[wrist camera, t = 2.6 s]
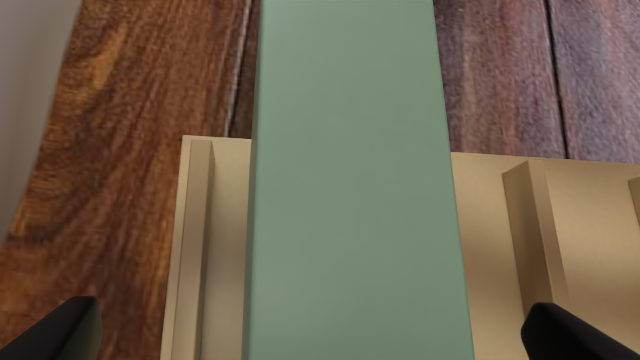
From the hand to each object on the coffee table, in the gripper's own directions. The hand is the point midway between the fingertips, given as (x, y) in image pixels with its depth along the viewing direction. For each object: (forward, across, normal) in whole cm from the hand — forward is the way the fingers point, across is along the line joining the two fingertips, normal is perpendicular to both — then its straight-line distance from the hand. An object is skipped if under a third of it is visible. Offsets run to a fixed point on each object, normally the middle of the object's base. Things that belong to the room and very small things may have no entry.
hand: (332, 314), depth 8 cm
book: (+7, 0, +5) cm, 9 cm away
